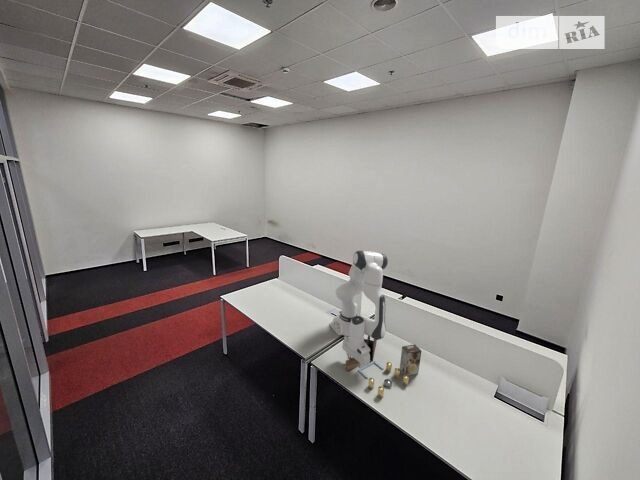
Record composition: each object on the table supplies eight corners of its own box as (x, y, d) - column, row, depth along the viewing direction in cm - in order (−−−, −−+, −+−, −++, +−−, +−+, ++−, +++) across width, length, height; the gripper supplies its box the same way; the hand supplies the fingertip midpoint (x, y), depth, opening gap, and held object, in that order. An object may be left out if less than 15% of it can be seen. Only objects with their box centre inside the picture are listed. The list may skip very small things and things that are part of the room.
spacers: (363, 383, 149) (363, 375, 147) (388, 368, 160) (388, 361, 159) (383, 402, 137) (384, 394, 136) (408, 384, 149) (409, 377, 147)
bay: (358, 370, 157) (358, 369, 157) (374, 361, 165) (374, 360, 165) (366, 378, 152) (367, 377, 151) (383, 369, 159) (383, 368, 159)
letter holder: (376, 342, 184) (378, 325, 180) (372, 361, 166) (374, 342, 162) (362, 339, 187) (363, 322, 183) (357, 357, 169) (358, 338, 165)
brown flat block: (345, 369, 159) (345, 360, 157) (357, 362, 164) (358, 354, 163) (347, 371, 157) (348, 363, 155) (360, 365, 162) (360, 356, 161)
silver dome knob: (382, 384, 148) (382, 381, 148) (386, 380, 151) (387, 377, 151) (389, 389, 145) (389, 386, 145) (393, 385, 148) (393, 382, 148)
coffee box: (412, 366, 163) (415, 343, 158) (418, 373, 157) (422, 350, 153) (399, 368, 160) (402, 346, 156) (404, 376, 154) (408, 353, 150)
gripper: (340, 336, 162) (339, 355, 165) (364, 354, 146) (363, 375, 150) (348, 332, 166) (347, 351, 169) (372, 350, 150) (370, 371, 153)
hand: (354, 363), depth 159 cm, fingers open, 8 cm apart
